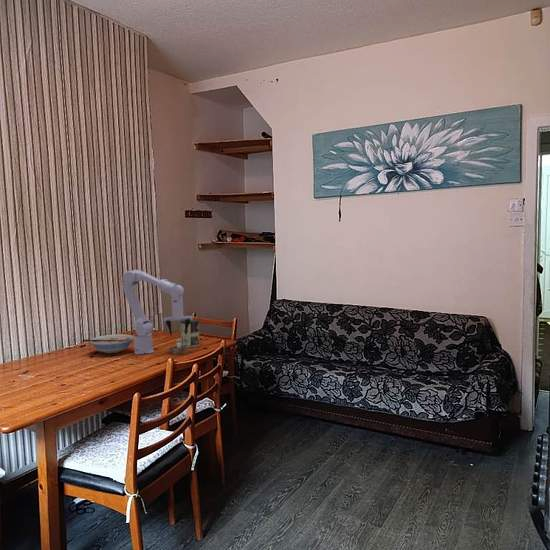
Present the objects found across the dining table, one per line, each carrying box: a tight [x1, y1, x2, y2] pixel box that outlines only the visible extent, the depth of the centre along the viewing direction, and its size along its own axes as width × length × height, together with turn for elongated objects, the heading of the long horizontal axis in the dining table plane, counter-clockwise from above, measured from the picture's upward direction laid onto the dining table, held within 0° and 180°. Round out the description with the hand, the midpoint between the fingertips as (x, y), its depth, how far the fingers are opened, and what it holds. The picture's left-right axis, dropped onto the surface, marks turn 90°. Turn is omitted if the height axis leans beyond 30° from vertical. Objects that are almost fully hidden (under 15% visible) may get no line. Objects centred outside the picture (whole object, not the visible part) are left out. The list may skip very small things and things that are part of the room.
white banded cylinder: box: [175, 338, 181, 348], centre depth 257 cm, size 2×2×7 cm
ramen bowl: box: [81, 333, 135, 355], centre depth 262 cm, size 25×23×8 cm
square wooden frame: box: [168, 345, 190, 356], centre depth 257 cm, size 8×8×3 cm
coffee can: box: [179, 318, 200, 348], centre depth 273 cm, size 10×10×14 cm
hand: (178, 334), depth 256 cm, fingers open, 7 cm apart
